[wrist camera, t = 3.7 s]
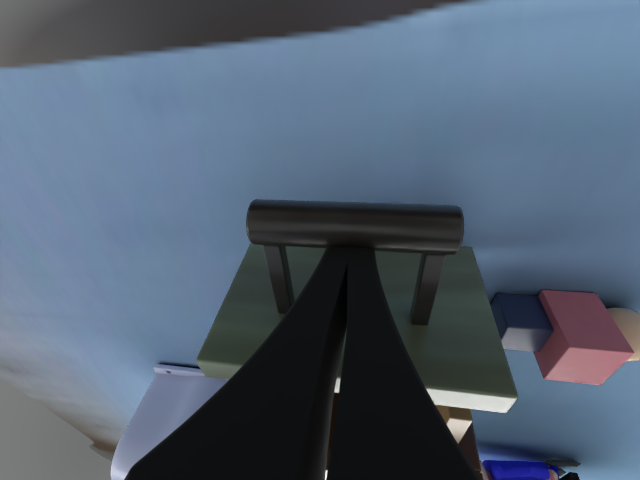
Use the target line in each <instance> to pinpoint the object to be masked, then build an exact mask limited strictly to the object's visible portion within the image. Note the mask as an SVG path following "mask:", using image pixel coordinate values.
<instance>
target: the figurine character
mask: <svg viewBox="0 0 640 480" xmlns="http://www.w3.org/2000/svg"><path fill="white" fill-rule="evenodd" d="M480 465H481V473H482V474H483V479H484V480H580V479H579V477H578V474H577V473H572V472H569V473H568V474H566V475H565V476H563V477H562V478H560V479H559V476H562V475H563V474H564V473H566V472H565V471H563V470H562V469H560V468H558V467H557V466H569V467H577V466H578V465H580V463H578V462H576V461H574V460H546V461H545V462H529V461H496V460H484V461H483V463H482V462H481V461H480ZM548 465H549V466H548Z"/></svg>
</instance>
